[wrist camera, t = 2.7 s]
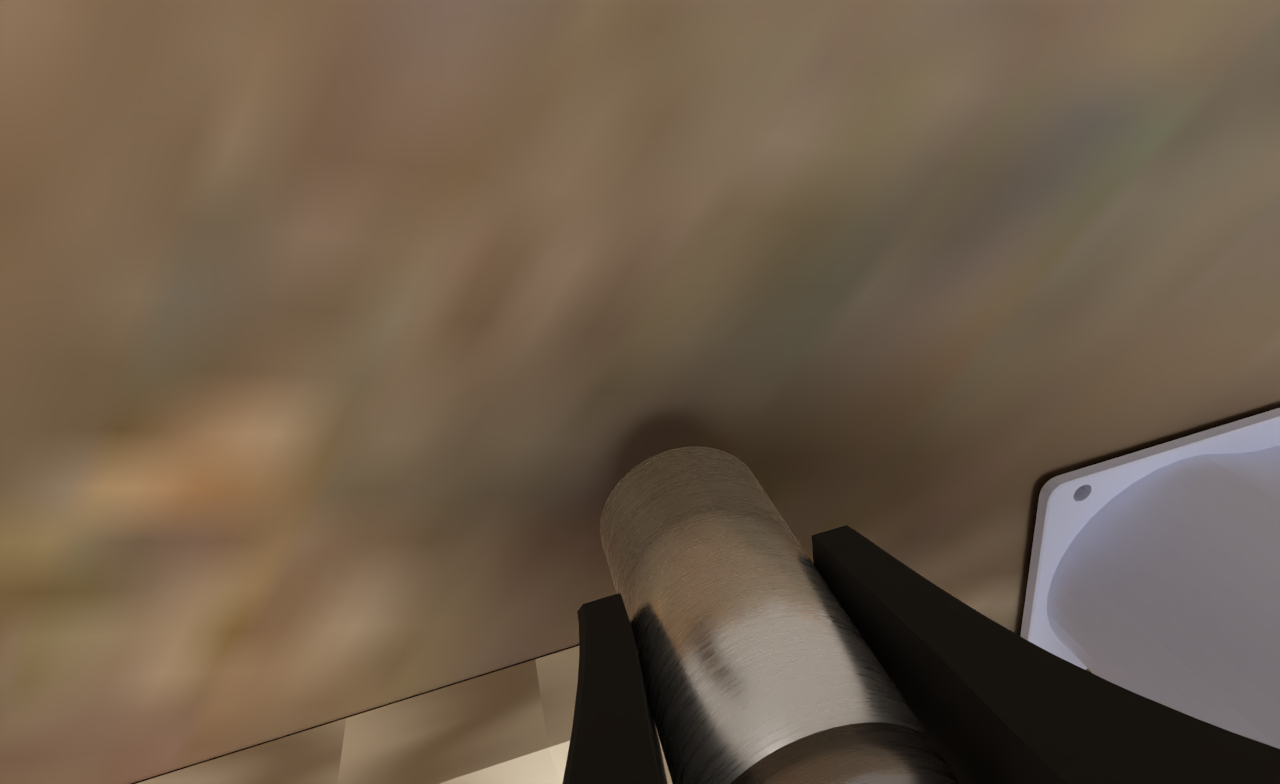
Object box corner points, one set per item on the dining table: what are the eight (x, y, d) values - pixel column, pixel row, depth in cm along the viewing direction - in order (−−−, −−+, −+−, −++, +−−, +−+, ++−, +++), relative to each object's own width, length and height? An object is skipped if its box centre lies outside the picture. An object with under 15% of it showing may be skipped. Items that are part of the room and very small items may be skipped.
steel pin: (753, 426, 13) (1007, 767, 7) (766, 557, 15) (985, 927, 9) (584, 473, 13) (705, 875, 7) (616, 602, 15) (738, 1022, 8)
